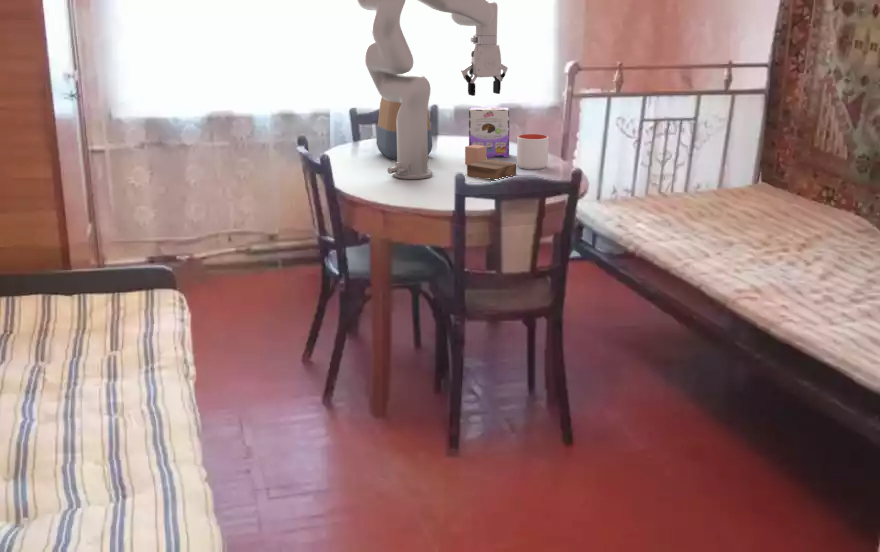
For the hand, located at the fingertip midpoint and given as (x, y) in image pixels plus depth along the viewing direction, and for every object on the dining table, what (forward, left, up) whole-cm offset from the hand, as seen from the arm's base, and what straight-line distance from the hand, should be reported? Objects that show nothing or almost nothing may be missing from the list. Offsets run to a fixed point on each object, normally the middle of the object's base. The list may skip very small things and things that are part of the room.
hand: (484, 94), depth 311 cm
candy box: (+8, +3, -22) cm, 24 cm away
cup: (+2, -19, -22) cm, 29 cm away
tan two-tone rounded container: (-10, +26, -22) cm, 36 cm away
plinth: (-16, -16, -22) cm, 32 cm away
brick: (-6, -2, -22) cm, 23 cm away
